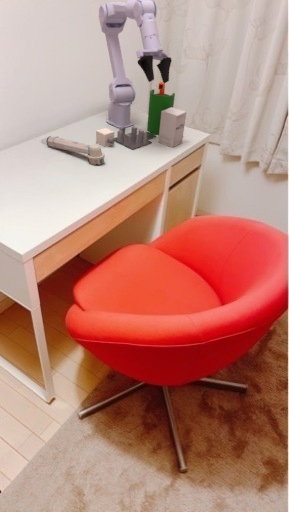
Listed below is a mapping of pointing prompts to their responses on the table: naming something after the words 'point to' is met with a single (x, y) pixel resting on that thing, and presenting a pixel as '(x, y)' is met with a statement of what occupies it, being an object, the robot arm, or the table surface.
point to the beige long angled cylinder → (78, 148)
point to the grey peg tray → (133, 138)
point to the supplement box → (172, 126)
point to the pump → (105, 137)
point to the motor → (158, 108)
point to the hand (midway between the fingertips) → (158, 81)
